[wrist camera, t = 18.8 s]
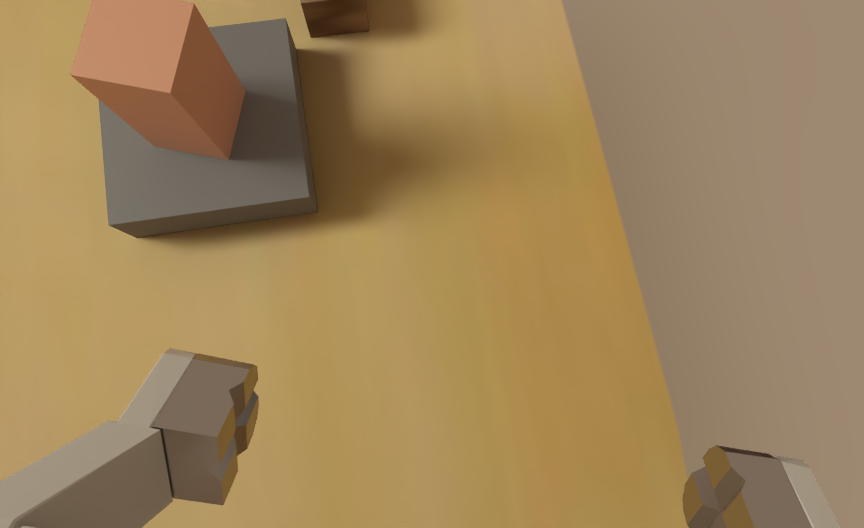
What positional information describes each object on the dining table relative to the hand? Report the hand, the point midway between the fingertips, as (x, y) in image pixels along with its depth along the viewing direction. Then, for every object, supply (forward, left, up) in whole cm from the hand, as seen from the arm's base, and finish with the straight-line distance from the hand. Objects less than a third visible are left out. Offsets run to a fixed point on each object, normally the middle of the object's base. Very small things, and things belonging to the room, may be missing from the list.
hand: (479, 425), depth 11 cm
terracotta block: (-12, +19, -27) cm, 36 cm away
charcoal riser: (-12, +19, -31) cm, 39 cm away
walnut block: (-2, +29, -31) cm, 43 cm away
